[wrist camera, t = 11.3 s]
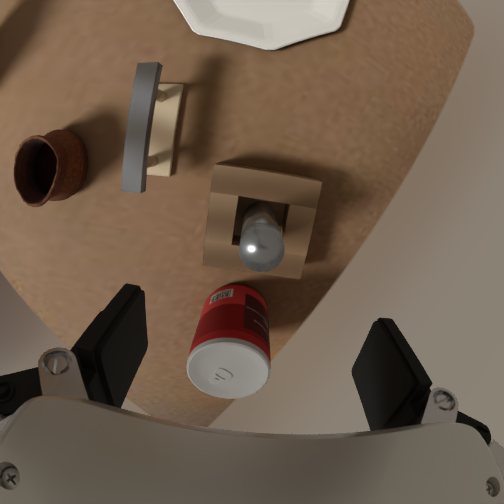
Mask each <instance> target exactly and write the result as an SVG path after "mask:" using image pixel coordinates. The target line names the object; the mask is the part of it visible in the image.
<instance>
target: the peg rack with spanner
mask: <svg viewBox="0 0 504 504" xmlns="http://www.w3.org/2000/svg"><path fill="white" fill-rule="evenodd" d="M162 66H163V65H161V64H160V63H159V62H150V63H138V65H137V70H136V74H135V79H134V84H133V90H132V95H131V101H130V108H129V114H128V121H127V129H126V137H125V146H124V157H123V169H122V185H121V191H123V192H134V193H142V192H144V191H145V190H146V176H147V175H158V176H171V169H172V160H173V152H174V144H175V136H176V129H177V122H178V116H179V109H180V103H181V97H182V92H183V86H184V85H183V84H159V81H160V76H161V71H162Z"/></svg>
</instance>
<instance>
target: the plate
mask: <svg viewBox="0 0 504 504" xmlns="http://www.w3.org/2000/svg"><path fill="white" fill-rule="evenodd" d="M173 1H174V2H175V4H176V5H177V7H178V8H179V10H180V11H181V13H182V14H183V16H184V18H185V19H186V21H187V22H188V24H189V26H190V27H191V29H192V30H193V32H195V33H197V34H198V35H201V36H206V37H212V38H217V39H222V40H227V41H231V42H236V43H240V44H244V45H248V46H252V47H255V48H259V49H263V50H277V49H280V48H282V47H285V46H288V45H291V44H294V43H297V42H300V41H303V40H306V39H310V38H313V37H316V36H320V35H323V34H327V33H331V32H335V31H336V30H337V29H339V28H340V27H341V24H342V21H343V18H344V16H345V13H346V10H347V7H348V4H349V1H350V0H173Z"/></svg>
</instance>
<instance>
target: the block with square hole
mask: <svg viewBox="0 0 504 504" xmlns="http://www.w3.org/2000/svg"><path fill="white" fill-rule="evenodd" d="M321 187H322V182H321V181H319V180H317V179H316V178H312V177H307V176H302V175H296V174H291V173H285V172H280V171H274V170H268V169H262V168H256V167H249V166H242V165H235V164H228V163H220V162H219V163H216V164H214V168H213V176H212V183H211V191H210V199H209V208H208V217H207V226H206V235H205V245H204V255H203V265H205V266H211V267H218V268H224V269H231V270H238V271H244V272H251V273H258V274H265V275H272V276H279V277H286V278H293V279H301V275H302V271H303V267H304V263H305V259H306V255H307V251H308V247H309V242H310V238H311V234H312V229H313V225H314V220H315V215H316V211H317V206H318V201H319V197H320V192H321ZM255 202H265V203H267V204H269V205H270V206H271V207H272V208H273V210H274V212H275V216H276V219H277V222H278V226H279V230H280V233H281V237H282V240H283V244H284V249H285V252H284V257H283V259H282V261H281V263H280V264H279V265H278V266H277V267H275V268H274V269H272V270H270V271H266V272H258V271H254V270H251V269H249V268H248V267H247V266H245V265H244V264H243V262H242V260H241V259H240V255H239V245H240V239H241V233H242V227H243V221H244V215H245V211H246V209H247V208H248V207H249V206H250V205H251V204H252V203H255Z"/></svg>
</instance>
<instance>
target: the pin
mask: <svg viewBox="0 0 504 504" xmlns="http://www.w3.org/2000/svg"><path fill="white" fill-rule="evenodd" d="M284 252H285V249H284V244H283V240H282V237H281V233H280V230H279V226H278V222H277V219H276V216H275V212H274V210H273V208H272V207H271V206H270V205H269V204H267V203H265V202H255V203H252V204H251V205H250V206H249V207H248V208H247V209H246V211H245V215H244V221H243V227H242V233H241V239H240V245H239V255H240V259H241V260H242V262H243V264H244V265H245V266H247V267H248V268H249V269H251V270H254V271H258V272H266V271H270V270H272V269H274V268H275V267H277V266H278V265H279V264H280V263H281V261H282V259H283V257H284Z"/></svg>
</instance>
